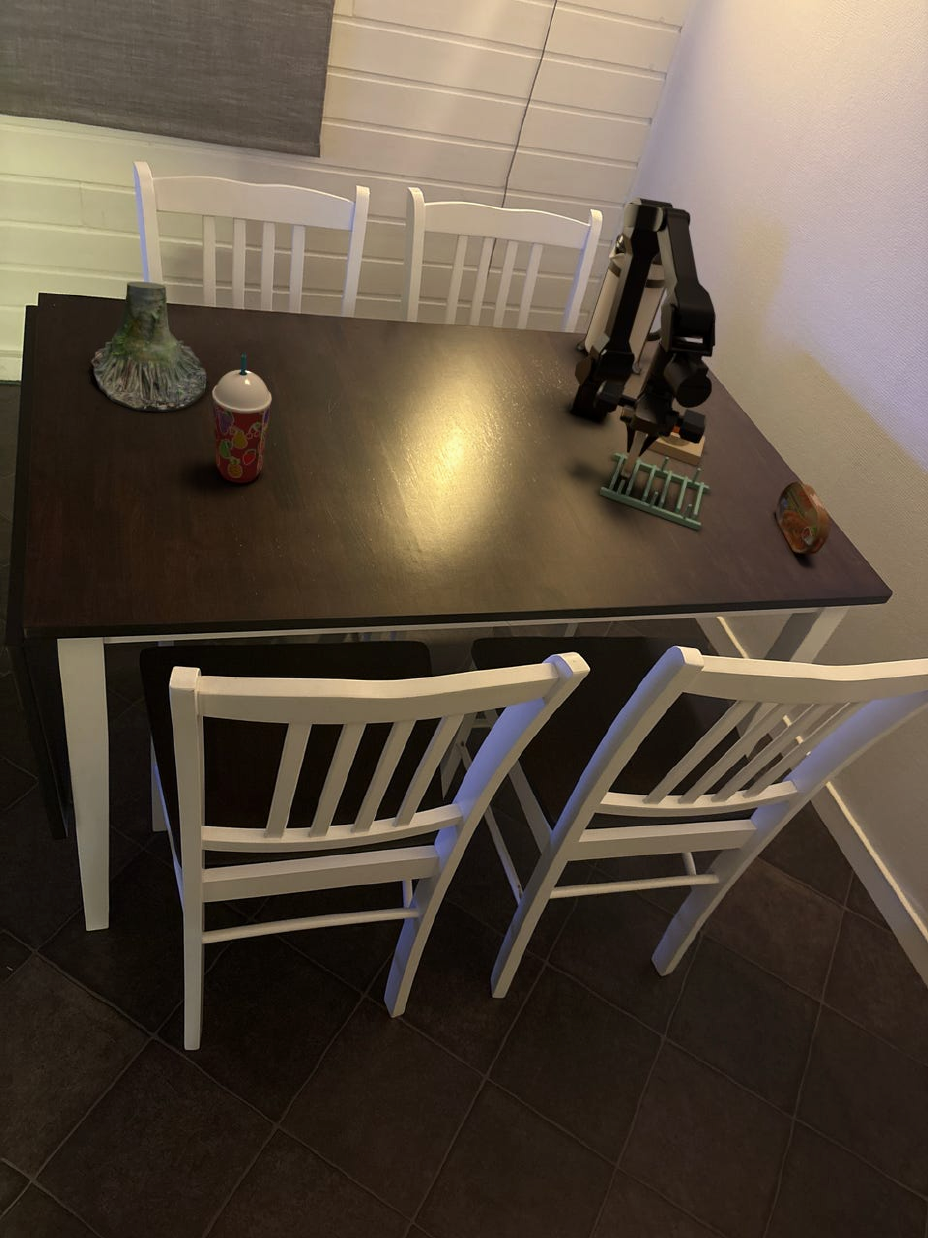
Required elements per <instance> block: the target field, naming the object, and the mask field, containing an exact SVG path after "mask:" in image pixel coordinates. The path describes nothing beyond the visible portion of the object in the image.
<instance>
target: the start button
mask: <svg viewBox="0 0 928 1238" xmlns="http://www.w3.org/2000/svg"><path fill="white" fill-rule="evenodd" d="M679 429H680V427H677V426H674V428H673V431H672V432H674V433H677V434H678V432H679Z"/></svg>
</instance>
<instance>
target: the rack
mask: <svg viewBox="0 0 928 1238" xmlns="http://www.w3.org/2000/svg"><path fill="white" fill-rule="evenodd" d="M626 459H627V456H626V453H623V452H622V453H617V452H615V453H614V456H613V458H612V460H613V461H615V462H618V464H617V465H616V469H615V471H614V474H613V476H612V479H611V482H610V484H609V486H608V488H607V487H604V486H602V487H601V488H600V491H599V496H603V497H606V498H608V499H611V500H614V501H617V502H619V503H622V504H624V505H628V506H630V507H633V508H635V509H638V510H642V511H644V512H647V513H649V514H652V515H655V516H657V517H660V518H663V519H666V520H669V521H671V522H673V523H677V524H679V525H682V526H684V527H687V528H690V529H692V530H695V531H699V530H700V528H701V524H702V523H701V521H700V522H699V521H697V520H696V518H697V517H698V512H699V508H700V503H701V499H702V495H703V493H704V494H707V493H708V492H709V489H710V486H709V485H706V484H705V482H703V481H701V482H698V481H697V479H698V477H699V475H700V473H701V471H702V469H701V468H699V467H698V468H697V469H696V472H695V473H694V475H693V478H692V479H689V476H686V475H685V476H682V475H678V474H676V473H673V470H669V471H668V470H665V469H666V466H667V464H668V462H669V460H670V456H665V458H664V461H663V462H662V465H661V468H659V467H658V465H656V464H653V465H651V464H649V463H646V462H643V461H642V459H640V458H637V461H636V463H635V466H634V468H633V470H632V472H631V475H630V479H629V481H628V485H627V488H626V490H625V493H624V494H623V493H621V492H622V489H623V488H624V485H625V483H626V480H625V479H621V481H620V483H619V486H618V488H617V490H616V491H614V490H613V489H614V486H615V484H616V481H617V479H618V476H619V473H620V470H621V467H622V465H624V464H625V461H626ZM638 470H640V471H643V472H646V473H647V474H648V473H649V475H648V478H647V481H646V485H645V487H644V490H643V493H642V496H641V500H640V499H637V498H634V497H631V496H630V494H631V491H632V488H633V486H634V482H635V480H636V476H637V474H638ZM655 476H656V477H659V478H663V479H665V480H664V483H663V486H662V490H661V493H660V495H659V492H658V491H655V492H654V493H653V495H652V498H651V501H650V503H647V502H646V500H647V498H648V495H649V492H650V489H651V487H652V483H653V480H654V477H655ZM670 482H673V483H676V484H678V485H680V488H679V492H678V496H677V499H676V502H675V507H674V510H673V511H670V510H667V509H664V508H663V505H664V502H665V499H666V496H667V492H668V489H669V486H670ZM686 488H690V489H692V490H695V491H696V492H695V497H694V501H693V504H691V503H689V504H688V505H687V506H686V509H685V511H684V514H683V515H681V514H679V513H680V511H681V507H682V504H683V500H684V497H685V492H686ZM658 495H659V496H660V498H659V499H658V503H657V506H656V505H654V504H655V503H656V500H657V497H658ZM691 508H692V509H691ZM690 511H691V514H690V518H689V517H688V516H689V513H690Z"/></svg>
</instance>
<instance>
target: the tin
mask: <svg viewBox="0 0 928 1238" xmlns="http://www.w3.org/2000/svg"><path fill="white" fill-rule="evenodd" d="M775 516H776V521H777V523H778V526H779V528H780V529H781V532H782V533H783V536H784V537H785V539H786V542H787V543H788V545H789V547H790V549H791V550H792V552H794V553H796V554H803V555H814V554H817V553H818V552H819V551H820V550H821V549H822V548H823V546H824V545H825V544H826V542H827V540H828V538H829V536H830V532H831V518H830V515H829V513H828V511H827V509H826V508H825V507H824V505H823V502H822V501H821V500H820V497H819V496H818V494H817V493H816V491H815V489H814V488H813V487H812V486H811V485H808V484H804V483H801V482H799V481H793V482H790V483H789V484H787V485H786V486H785V487H784V489H783V490H782V491H781V494H780V496H779V498H778V501H777V505H776V509H775Z"/></svg>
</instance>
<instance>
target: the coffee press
mask: <svg viewBox="0 0 928 1238" xmlns="http://www.w3.org/2000/svg"><path fill="white" fill-rule="evenodd" d="M625 254H626V248H625V244H624V240H623V236H622V232H621V233H619V234H618V235H617V236H616V239H615V242H614V246H613V248H612V250H611V251H610V252H609V255H608V259H609V263H608V266H607V269H606V273H605V276H604V279H603V281H602V285H601V287H600V291H599V293H598V298H597V300H596V303H595V306H594V309H593V312H592V315H591V319H590V321H589V325H588V328H587V331H586V333H585V337H584V338H583V339H582V340H580V341H579V342H578V343H577V344H576V349H577V350H578V351H583V350H586V352H587V353H588V354H589V352H590V349H591V346H592V344H593V343H594V342H595V341H596V340H597V339H598V338H599V337H600V336H601V335H602V334H603V333H604V331H605V328H606V324H607V320H608V317H609V313H610V309H611V306H612V302H613V298H614V295H615V291H616V287H617V284H618V280H619V276H620V273H621V269H622V265H623V262H624V258H625ZM665 293H666V283H665V277H664V271H663V265H662V259H661V253H659V254H658V255H657V256H656V257H655V258H654V259H653V261H652V264H651V268H650V271H649V275H648V278H647V281H646V285H645V288H644V292H643V295H642V299H641V302H640V306H639V309H638V312H637V316H636V319H635V323H634V326H633V330H632V333H631V337H630V341H629V342H630V346H631V349H632V353H634V355H635V360H634V363H633V366H632V373H634V374H636V375H638V374H640V373H641V372H642V370H643V366H642V363H641V358H642V354H643V353H644V349H645V347H646V345H647V343H648V342H649V343H652V342H657V341H660V339H661V337H660V336H659V334H658V329H657V330H655V331H654V332H651V330H652V329H653V325H654V322H655V320H656V317H657V314H658V312H659V309H660V307H661V305H662V304H661V303H662V301H663V298H664V297H665ZM659 329H661V327H660V328H659ZM583 342H584V345H585V346H583V347H582V346H581V345H580V344H581V343H583ZM636 363H637V366H638V369H639V370H637V369H636V366H635V365H634V364H636Z"/></svg>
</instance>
